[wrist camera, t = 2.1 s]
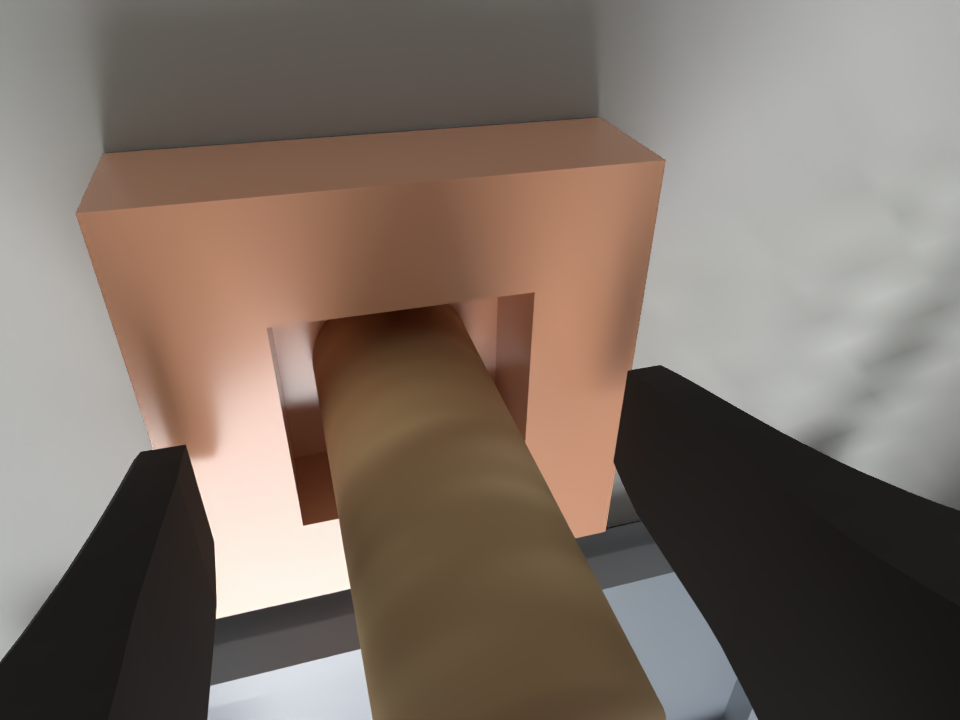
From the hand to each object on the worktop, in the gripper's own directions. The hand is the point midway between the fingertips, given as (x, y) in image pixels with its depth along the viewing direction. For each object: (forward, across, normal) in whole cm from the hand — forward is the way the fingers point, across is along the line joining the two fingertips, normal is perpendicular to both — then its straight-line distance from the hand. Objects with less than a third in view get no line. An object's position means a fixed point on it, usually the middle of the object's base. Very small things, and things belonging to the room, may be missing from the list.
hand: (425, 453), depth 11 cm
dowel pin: (+3, 0, 0) cm, 3 cm away
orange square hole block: (+3, 0, 0) cm, 3 cm away
